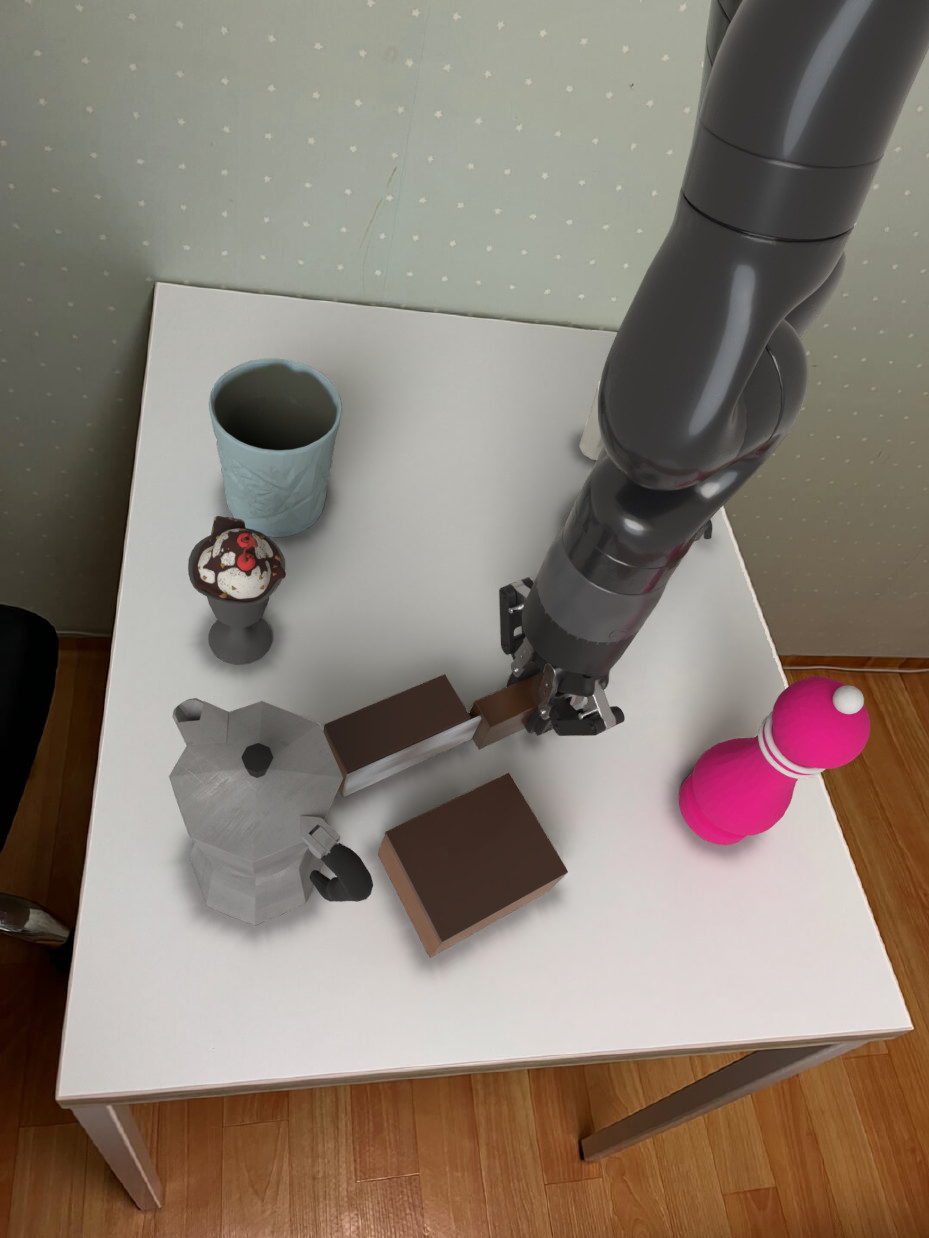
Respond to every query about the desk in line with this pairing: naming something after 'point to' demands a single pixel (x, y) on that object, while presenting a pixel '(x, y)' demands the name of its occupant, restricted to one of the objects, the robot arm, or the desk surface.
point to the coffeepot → (261, 810)
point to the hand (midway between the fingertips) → (527, 710)
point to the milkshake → (592, 432)
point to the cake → (469, 863)
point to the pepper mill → (774, 760)
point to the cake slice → (394, 724)
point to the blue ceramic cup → (275, 442)
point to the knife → (461, 732)
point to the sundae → (237, 587)
